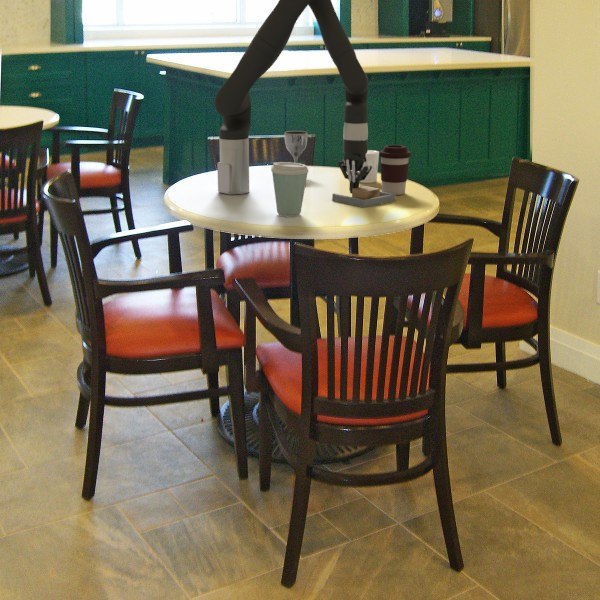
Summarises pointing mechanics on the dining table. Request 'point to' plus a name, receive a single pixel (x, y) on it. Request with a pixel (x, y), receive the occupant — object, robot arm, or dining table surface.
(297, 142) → the wine glass
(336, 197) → the grey corral
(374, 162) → the white cup
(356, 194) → the walnut block
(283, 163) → the disposable coffee cup
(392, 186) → the coffee cup
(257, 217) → the dining table surface
